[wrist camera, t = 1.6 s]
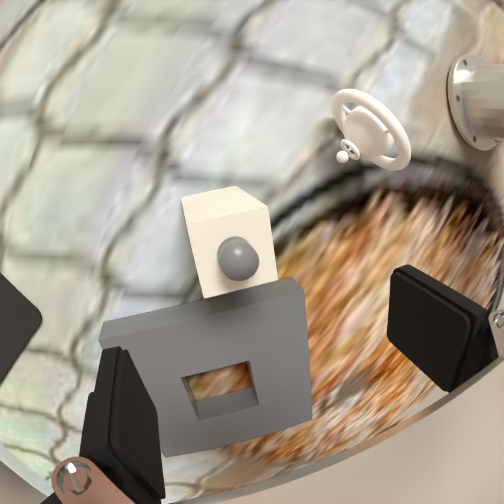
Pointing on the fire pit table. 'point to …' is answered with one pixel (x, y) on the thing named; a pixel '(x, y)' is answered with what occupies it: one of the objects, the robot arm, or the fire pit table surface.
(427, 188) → the fire pit table surface
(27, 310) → the phone
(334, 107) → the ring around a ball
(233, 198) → the plug
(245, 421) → the socket plate
